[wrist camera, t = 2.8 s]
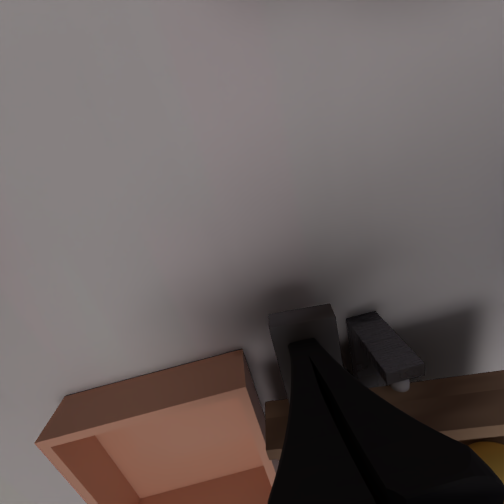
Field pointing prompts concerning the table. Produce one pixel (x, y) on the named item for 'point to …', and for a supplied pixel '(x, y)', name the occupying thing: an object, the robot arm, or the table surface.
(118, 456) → the tray
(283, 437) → the brown wooden tray
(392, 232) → the table surface
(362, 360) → the seesaw stand
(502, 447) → the ball
